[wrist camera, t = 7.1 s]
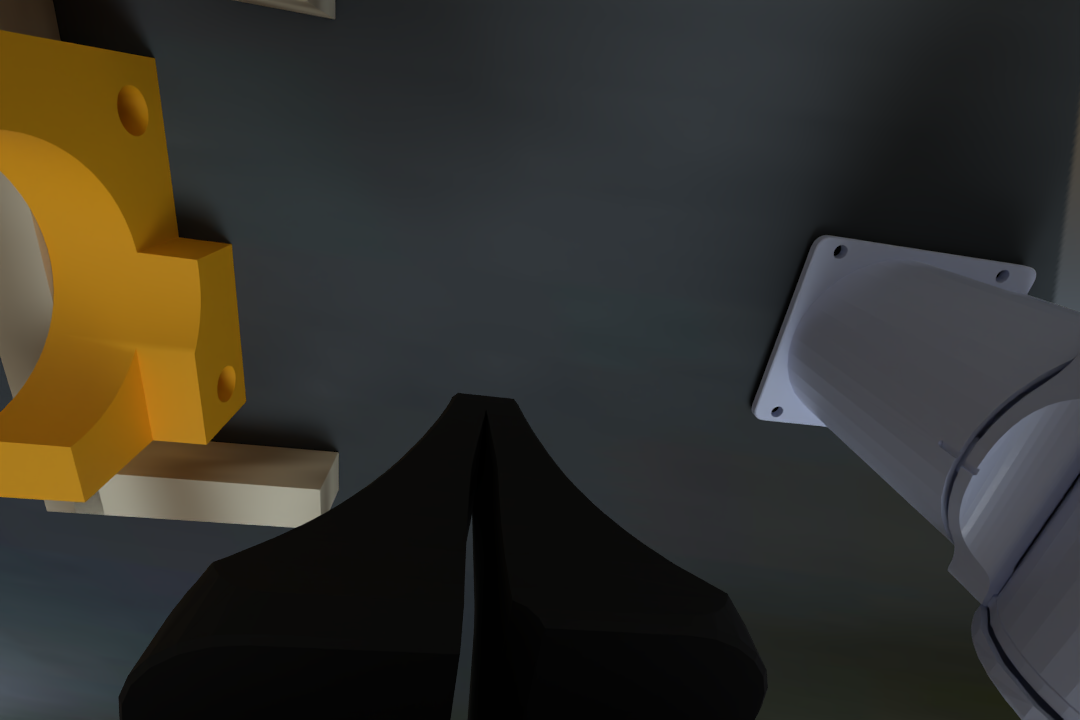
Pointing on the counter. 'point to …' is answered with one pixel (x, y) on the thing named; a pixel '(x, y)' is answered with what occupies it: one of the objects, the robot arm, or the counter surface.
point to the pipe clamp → (108, 276)
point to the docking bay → (161, 467)
